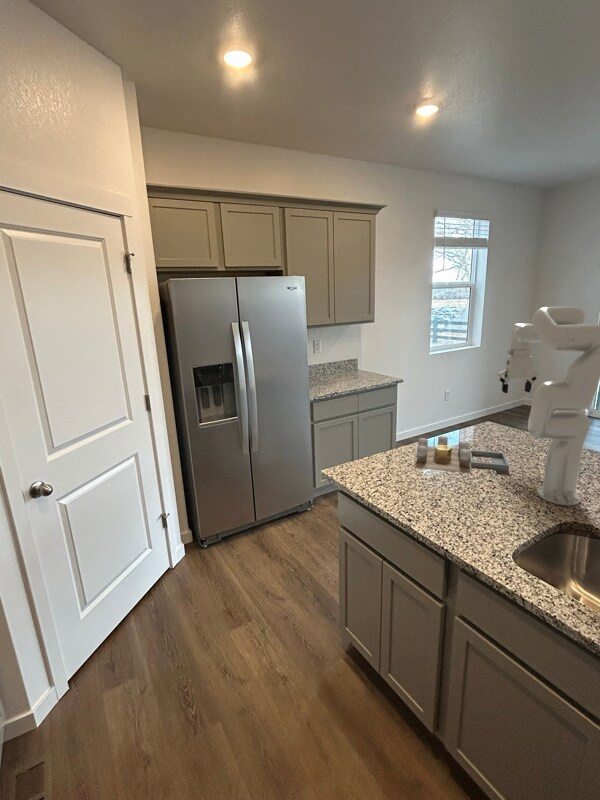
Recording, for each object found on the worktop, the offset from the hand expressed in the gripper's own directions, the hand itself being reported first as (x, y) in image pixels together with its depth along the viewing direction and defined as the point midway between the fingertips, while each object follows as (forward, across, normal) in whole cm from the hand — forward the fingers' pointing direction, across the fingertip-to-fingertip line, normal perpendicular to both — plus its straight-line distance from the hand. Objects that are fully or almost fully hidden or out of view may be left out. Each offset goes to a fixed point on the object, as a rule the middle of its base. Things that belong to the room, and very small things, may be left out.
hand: (516, 392), depth 169 cm
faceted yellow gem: (+27, -33, -7) cm, 43 cm away
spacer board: (+28, -33, -7) cm, 44 cm away
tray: (+28, -15, -12) cm, 34 cm away
